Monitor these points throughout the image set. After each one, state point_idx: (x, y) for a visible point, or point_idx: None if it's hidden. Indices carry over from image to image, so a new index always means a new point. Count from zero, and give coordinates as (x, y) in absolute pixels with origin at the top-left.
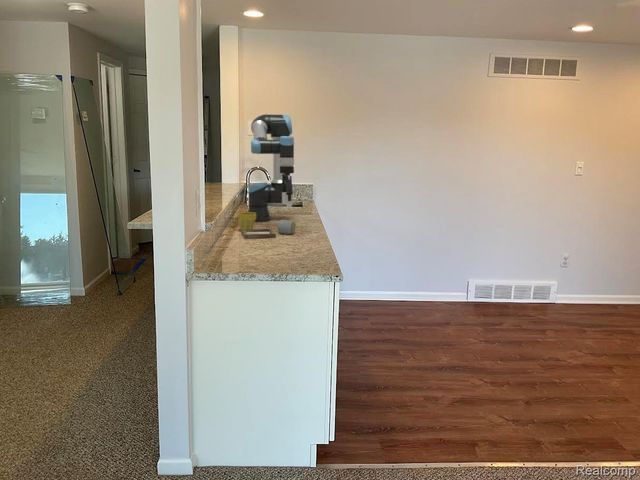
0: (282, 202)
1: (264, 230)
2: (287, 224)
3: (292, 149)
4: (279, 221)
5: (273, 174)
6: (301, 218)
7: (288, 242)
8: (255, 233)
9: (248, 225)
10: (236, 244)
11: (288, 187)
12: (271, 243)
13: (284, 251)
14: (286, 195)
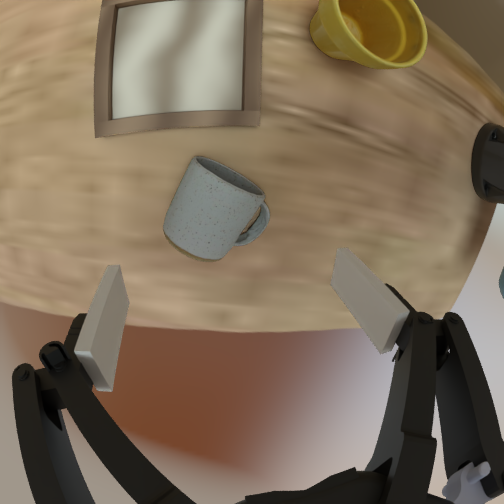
0: (343, 257)
1: (243, 88)
2: (174, 216)
3: None
4: (207, 174)
5: None
6: (459, 287)
7: (21, 191)
8: (194, 39)
9: (316, 21)
10: (26, 2)
11: (23, 437)
12: (8, 124)
13: None
14: (367, 327)
